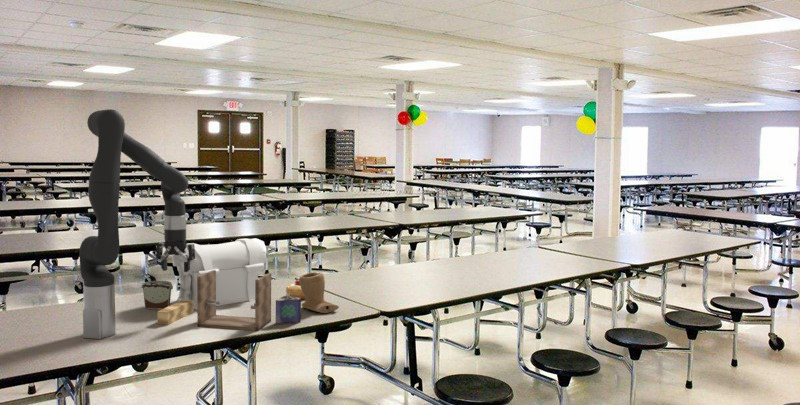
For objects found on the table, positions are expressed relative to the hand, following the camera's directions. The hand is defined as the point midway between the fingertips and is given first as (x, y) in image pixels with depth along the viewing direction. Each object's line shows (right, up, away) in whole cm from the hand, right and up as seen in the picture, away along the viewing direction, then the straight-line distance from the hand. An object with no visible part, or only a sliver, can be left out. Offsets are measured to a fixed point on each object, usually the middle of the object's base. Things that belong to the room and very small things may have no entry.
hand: (175, 271), depth 224 cm
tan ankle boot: (+50, -18, +17) cm, 55 cm away
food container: (-12, -16, +17) cm, 26 cm away
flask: (+42, -19, -1) cm, 46 cm away
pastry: (+40, -16, +38) cm, 57 cm away
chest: (+8, -16, +30) cm, 34 cm away
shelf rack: (+23, -19, -4) cm, 30 cm away
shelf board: (0, -18, +2) cm, 18 cm away
